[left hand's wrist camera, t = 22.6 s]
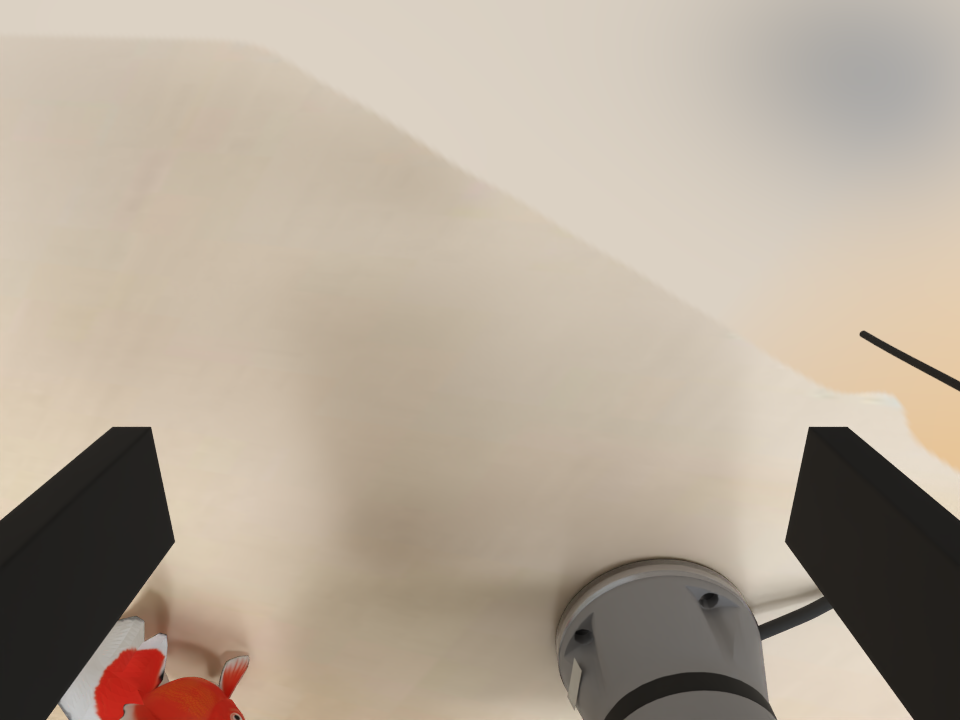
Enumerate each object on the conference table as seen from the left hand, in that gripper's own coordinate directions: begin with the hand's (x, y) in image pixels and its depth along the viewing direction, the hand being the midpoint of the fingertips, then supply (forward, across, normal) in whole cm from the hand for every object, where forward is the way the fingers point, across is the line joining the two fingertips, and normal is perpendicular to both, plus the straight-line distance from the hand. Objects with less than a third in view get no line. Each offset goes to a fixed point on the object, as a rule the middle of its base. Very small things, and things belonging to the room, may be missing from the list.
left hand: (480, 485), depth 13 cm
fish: (+27, -24, -32) cm, 49 cm away
